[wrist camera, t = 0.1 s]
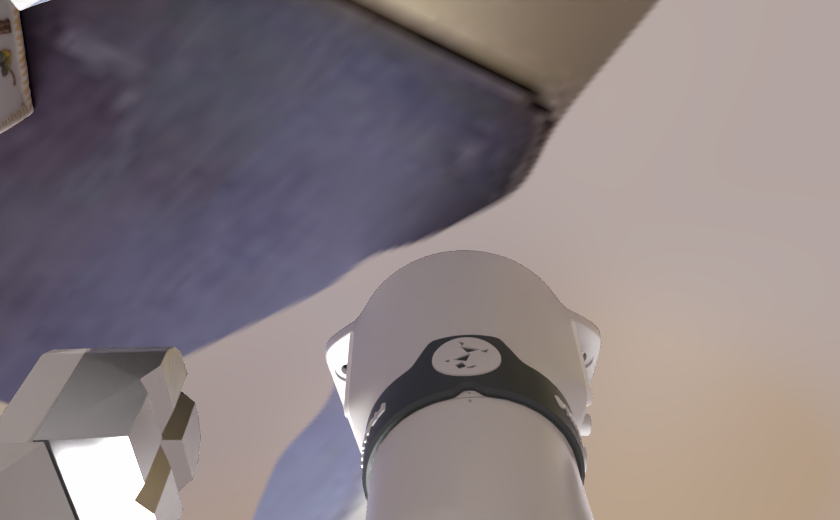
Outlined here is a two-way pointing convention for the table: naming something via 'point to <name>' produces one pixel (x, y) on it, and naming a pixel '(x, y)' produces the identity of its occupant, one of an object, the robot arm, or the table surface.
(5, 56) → the decorative jar
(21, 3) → the light bulb box
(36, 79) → the table surface
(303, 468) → the table surface
